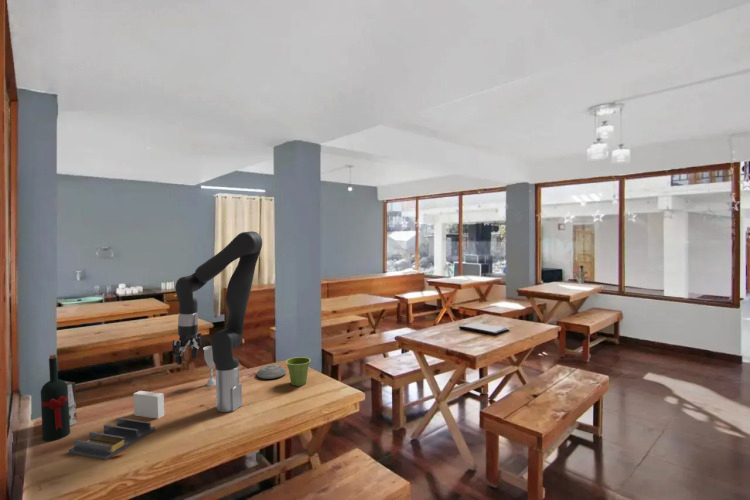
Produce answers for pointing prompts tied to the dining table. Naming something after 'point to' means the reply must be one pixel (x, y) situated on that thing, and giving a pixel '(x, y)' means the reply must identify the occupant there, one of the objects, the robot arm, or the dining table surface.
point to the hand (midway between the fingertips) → (187, 361)
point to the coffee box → (72, 402)
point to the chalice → (209, 364)
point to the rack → (112, 439)
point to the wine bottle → (54, 405)
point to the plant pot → (298, 370)
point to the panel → (149, 404)
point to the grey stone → (271, 372)
